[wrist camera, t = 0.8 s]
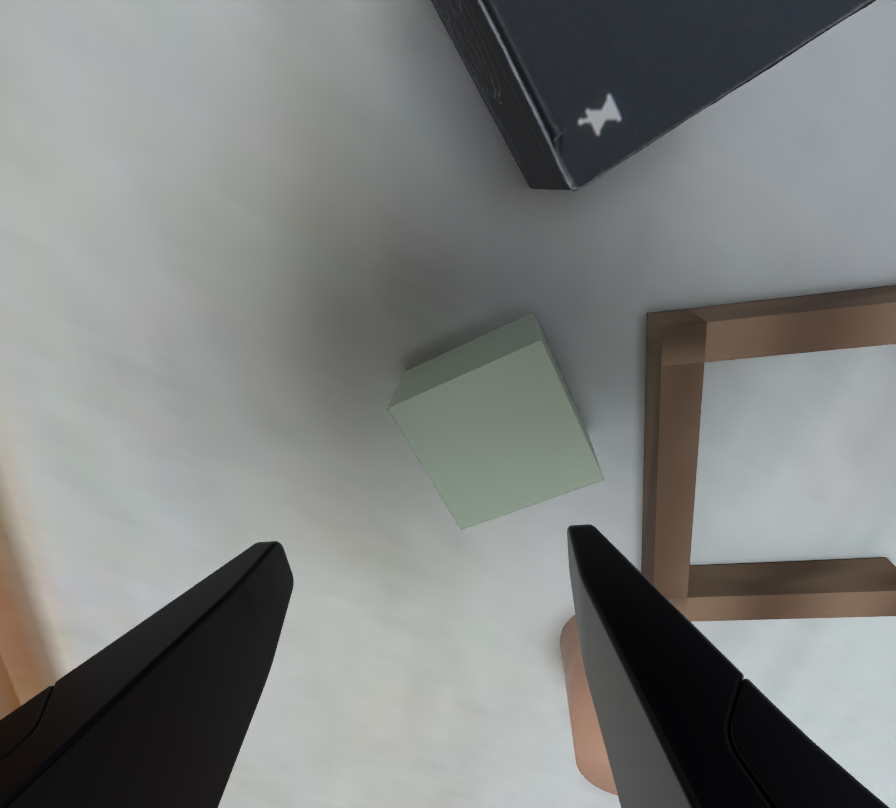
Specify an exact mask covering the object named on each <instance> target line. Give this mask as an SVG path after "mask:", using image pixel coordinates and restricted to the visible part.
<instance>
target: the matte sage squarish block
mask: <svg viewBox="0 0 896 808" xmlns="http://www.w3.org/2000/svg"><path fill="white" fill-rule="evenodd" d="M387 409H388V410H389V412H390V414H391V415H392V417H393V419H394V420H395V422H396V424H397V425H398V427H399V429H400V430H401V432H402V434H403V435H404V437H405V439H406V440H407V442H408V444H409V445H410V447H411V448H412V450H413V452H414V453H415V455H416V457H417V458H418V460H419V462H420V463H421V465H422V467H423V468H424V470H425V472H426V473H427V475H428V477H429V478H430V480H431V482H432V483H433V485H434V487H435V488H436V490H437V491H438V493H439V495H440V496H441V498H442V500H443V501H444V503H445V505H446V506H447V508H448V510H449V511H450V513H451V515H452V516H453V518H454V520H455V521H456V523H457V525H458V526H459V528H460V530H463V529H465V528H468V527H471V526H474V525H477V524H480V523H482V522H485V521H488V520H491V519H494V518H497V517H499V516H502V515H505V514H508V513H511V512H514V511H516V510H519V509H522V508H525V507H528V506H531V505H533V504H536V503H539V502H542V501H545V500H548V499H550V498H553V497H556V496H559V495H562V494H565V493H567V492H570V491H573V490H576V489H579V488H582V487H584V486H587V485H590V484H593V483H596V482H599V481H601V480H604V477H603V475H602V472H601V469H600V466H599V463H598V461H597V458H596V455H595V452H594V449H593V447H592V444H591V441H590V438H589V435H588V432H587V430H586V428H585V426H584V423H583V421H582V419H581V417H580V415H579V412H578V410H577V408H576V406H575V403H574V401H573V399H572V397H571V394H570V392H569V390H568V388H567V386H566V383H565V381H564V379H563V377H562V374H561V372H560V370H559V368H558V365H557V363H556V361H555V359H554V357H553V354H552V352H551V350H550V348H549V345H548V343H547V341H546V339H545V336H544V334H543V332H542V330H541V328H540V325H539V323H538V321H537V319H536V316H535V314H534V312H532V313H530V314H528V315H525V316H523V317H521V318H519V319H517V320H515V321H513V322H510V323H508V324H506V325H504V326H502V327H500V328H497V329H495V330H493V331H491V332H489V333H487V334H485V335H482V336H480V337H478V338H476V339H474V340H472V341H469V342H467V343H465V344H463V345H461V346H459V347H456V348H454V349H452V350H450V351H448V352H446V353H444V354H441V355H439V356H437V357H435V358H433V359H431V360H428V361H426V362H424V363H422V364H420V365H418V366H416V367H413V368H411V369H409V370H407V371H405V373H404V375H403V377H402V379H401V381H400V383H399V385H398V387H397V389H396V391H395V393H394V396H393V398H392V400H391V402H390V404H389V406H388V408H387Z"/></svg>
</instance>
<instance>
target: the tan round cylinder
mask: <svg viewBox="0 0 896 808" xmlns="http://www.w3.org/2000/svg"><path fill="white" fill-rule="evenodd" d="M560 646H561V654H562V661H563V669H564V676H565V684H566V691H567V698H568V706H569V713H570V721H571V728H572V736H573V743H574V751H575V758H576V764H577V766H578V769H579V771H580V772H581V774H582V775H583V776H584V777H585V778H586V779H587V780H588V781H589V782H590V783H592V784H593V785H595V786H596V787H598V788H600V789H602V790H604V791H606V792H609V793H612V794H615V795H618V793H617V789H616V786H615V782H614V778H613V774H612V771H611V767H610V763H609V760H608V756H607V752H606V748H605V745H604V741H603V737H602V733H601V730H600V726H599V722H598V719H597V715H596V711H595V707H594V704H593V700H592V696H591V693H590V689H589V685H588V681H587V677H586V673H585V669H584V665H583V659H582V653H581V647H580V640H579V634H578V627H577V620H576V615H574V616H573V617H572V618H571V619H570V620H569V621H568V622H567V623H566V625H565V627H564V628H563V631H562V633H561V637H560Z"/></svg>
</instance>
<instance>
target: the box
mask: <svg viewBox="0 0 896 808" xmlns="http://www.w3.org/2000/svg"><path fill="white" fill-rule="evenodd" d="M431 1H432V3H433V5H434V7H435V9H436V11H437V13H438V14H439V17H440V19H441V21H442V23H443V24H444V26H445V28H446V30H447V32H448V34H449V36H450V38H451V39H452V41H453V43H454V45H455V47H456V49H457V51H458V53H459V55H460V57H461V58H462V60H463V62H464V64H465V66H466V68H467V70H468V72H469V74H470V76H471V77H472V79H473V81H474V83H475V85H476V87H477V89H478V90H479V92H480V94H481V96H482V98H483V100H484V102H485V104H486V106H487V108H488V110H489V112H490V113H491V115H492V117H493V119H494V121H495V123H496V125H497V126H498V128H499V130H500V132H501V134H502V136H503V137H504V139H505V141H506V143H507V145H508V147H509V149H510V151H511V153H512V154H513V156H514V158H515V160H516V162H517V164H518V166H519V168H520V170H521V171H522V173H523V175H524V177H525V179H526V181H527V183H528V184H529V186H530V188H532V189H534V188H535V189H551V190H553V189H556V190H571V191H576V190H578V189H580V188H582V187H584V186H586V185H588V184H589V183H591V182H592V181H594V180H595V179H597V178H598V177H600V176H601V175H603V174H604V173H606V172H607V171H609V170H610V169H612V168H614V167H615V166H617V165H618V164H620V163H621V162H623V161H624V160H626V159H627V158H629V157H631V156H632V155H634V154H635V153H637V152H638V151H640V150H642V149H643V148H645V147H646V146H648V145H649V144H651V143H652V142H654V141H655V140H657V139H658V138H660V137H661V136H663V135H664V134H666V133H668V132H669V131H671V130H672V129H674V128H675V127H677V126H678V125H680V124H681V123H683V122H684V121H686V120H687V119H689V118H691V117H692V116H694V115H695V114H697V113H699V112H700V111H702V110H703V109H705V108H706V107H708V106H710V105H712V104H714V103H716V102H717V101H718V100H720V99H721V98H723V97H724V96H726V95H727V94H729V93H730V92H732V91H734V90H735V89H737V88H739V87H740V86H742V85H744V84H745V83H747V82H749V81H750V80H752V79H753V78H755V77H756V76H758V75H760V74H761V73H763V72H764V71H766V70H768V69H770V68H771V67H773V66H774V65H776V64H777V63H779V62H780V61H782V60H783V59H785V58H786V57H788V56H789V55H791V54H792V53H794V52H795V51H797V50H798V49H800V48H801V47H803V46H804V45H806V44H807V43H809V42H810V41H812V40H813V39H815V38H816V37H818V36H819V35H821V34H823V33H824V32H826V31H827V30H829V29H830V28H832V27H833V26H835V25H837V24H838V23H840V22H841V21H843V20H845V19H846V18H848V17H849V16H851V15H853V14H855V13H856V12H858V11H860V10H861V9H863V8H865V7H867V6H868V5H870V4H871V3H873V2H874V1H876V0H431Z"/></svg>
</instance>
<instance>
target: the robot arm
mask: <svg viewBox="0 0 896 808" xmlns="http://www.w3.org/2000/svg"><path fill="white" fill-rule="evenodd" d="M567 537H568V556H569V570H570V579H571V586H572V592H573V599H574V606H575V613H576V620H577V627H578V634H579V640H580V647H581V653H582V659H583V665H584V669H585V673H586V677H587V681H588V685H589V689H590V693H591V696H592V700H593V704H594V707H595V711H596V715H597V719H598V722H599V726H600V730H601V733H602V737H603V741H604V745H605V748H606V752H607V756H608V760H609V763H610V767H611V771H612V774H613V778H614V782H615V786H616V789H617V793H618V797H619V801H620V804H621V808H889V807H888V806H887V805H886V804H884V803H883V802H882V801H881V800H880V799H878V798H877V797H876V796H875V795H874V794H873V793H871V792H870V791H869V790H868V789H867V788H865V787H864V786H863V785H862V784H861V783H860V782H858V781H857V780H856V779H855V778H854V777H853V776H852V775H850V774H849V773H848V772H847V771H846V770H845V769H844V768H843V767H841V766H840V765H839V764H838V763H837V762H836V761H835V760H833V759H832V758H831V757H830V756H829V755H828V754H827V753H825V752H824V751H823V750H822V749H821V748H820V747H819V746H817V745H816V744H815V743H814V742H813V741H812V740H811V739H810V738H809V737H807V736H806V735H805V734H804V733H803V732H802V731H801V730H800V729H799V728H798V727H797V726H796V725H795V724H794V723H793V722H792V721H791V720H790V719H789V718H787V717H786V716H785V715H784V714H783V713H782V712H781V711H780V710H779V709H778V708H777V707H776V706H775V705H774V704H773V703H772V702H771V701H770V700H769V699H768V698H767V697H766V696H765V695H764V694H763V693H762V692H761V691H760V690H759V689H758V688H757V687H756V686H755V685H754V684H753V683H752V682H751V681H750V680H748V679H744V676H743V674H742V673H741V672H740V671H739V670H738V669H737V668H736V667H735V666H734V665H733V664H732V663H731V662H730V661H729V660H728V659H727V658H726V657H725V656H724V655H723V654H722V653H721V652H720V651H719V650H718V649H717V648H716V647H715V646H714V645H713V644H712V643H711V642H710V641H709V640H708V639H707V638H706V637H705V636H704V635H703V634H702V633H701V632H700V631H699V630H698V629H697V628H696V627H695V626H694V625H693V624H692V623H691V622H690V621H689V620H688V619H687V618H686V617H685V616H684V615H683V614H682V613H681V612H680V611H679V610H678V609H677V608H676V607H675V606H674V605H673V604H672V603H671V602H670V601H669V600H668V599H667V598H666V597H665V596H664V595H663V594H662V593H661V592H660V591H659V590H658V589H657V588H656V587H655V586H654V585H653V584H652V583H651V582H650V581H649V580H648V579H647V578H646V577H645V576H644V575H643V574H642V573H641V572H640V571H639V570H638V569H637V568H636V567H635V566H634V565H633V564H632V563H631V562H630V561H629V560H628V559H627V558H626V557H624V556H623V555H622V554H621V553H620V552H619V551H618V550H617V549H616V548H615V547H614V546H613V545H612V544H611V543H610V542H609V541H608V540H607V539H606V538H605V537H604V536H603V535H602V534H601V533H600V532H599V531H598V530H597V529H596V528H595V527H594V526H592V525H572V526H569V527H568V530H567ZM292 590H293V575H292V571H291V569H290V566H289V563H288V560H287V557H286V554H285V551H284V548H283V546H282V545H281V544H280V543H279V542H277V541H271V542H258V543H256V544H254V545H253V546H251V547H250V548H248V549H247V550H245V551H244V552H242V553H241V554H240V555H238V556H237V557H235V558H234V559H232V560H231V561H229V562H228V563H227V564H225V565H224V566H222V567H221V568H219V569H218V570H216V571H215V572H214V573H212V574H211V575H209V576H208V577H206V578H205V579H203V580H202V581H201V582H199V583H198V584H196V585H195V586H193V587H192V588H191V589H189V590H188V591H186V592H185V593H183V594H182V595H180V596H179V597H178V598H176V599H175V600H173V601H172V602H170V603H169V604H167V605H166V606H165V607H163V608H162V609H160V610H159V611H157V612H156V613H154V614H153V615H152V616H150V617H149V618H147V619H146V620H144V621H143V622H141V623H140V624H139V625H137V626H136V627H134V628H133V629H131V630H130V631H129V632H127V633H126V634H124V635H123V636H121V637H120V638H118V639H117V640H116V641H114V642H113V643H111V644H110V645H108V646H107V647H105V648H104V649H103V650H101V651H100V652H98V653H97V654H95V655H94V656H92V657H91V658H90V659H88V660H87V661H85V662H84V663H82V664H81V665H80V666H78V667H77V668H75V669H74V670H72V671H71V672H69V673H68V674H67V675H65V676H64V677H62V678H61V679H59V680H58V681H57V682H56V683H55V685H54V686H49V687H48V688H46V689H45V690H43V691H42V692H40V693H39V694H38V695H36V696H35V697H33V698H32V699H30V700H29V701H28V702H26V703H25V704H23V705H22V706H20V707H19V708H17V709H16V710H14V711H13V712H11V713H10V714H8V715H7V716H5V717H4V718H3V719H1V720H0V808H218V806H219V803H220V800H221V798H222V795H223V792H224V790H225V787H226V785H227V782H228V779H229V777H230V774H231V772H232V769H233V766H234V764H235V761H236V759H237V756H238V753H239V751H240V748H241V746H242V743H243V740H244V738H245V735H246V733H247V730H248V727H249V725H250V722H251V719H252V717H253V714H254V712H255V709H256V706H257V704H258V701H259V699H260V696H261V693H262V691H263V688H264V686H265V683H266V680H267V677H268V675H269V672H270V669H271V666H272V662H273V659H274V656H275V652H276V648H277V645H278V641H279V637H280V634H281V630H282V626H283V623H284V619H285V615H286V612H287V608H288V604H289V601H290V597H291V593H292ZM743 679H744V680H743Z"/></svg>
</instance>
